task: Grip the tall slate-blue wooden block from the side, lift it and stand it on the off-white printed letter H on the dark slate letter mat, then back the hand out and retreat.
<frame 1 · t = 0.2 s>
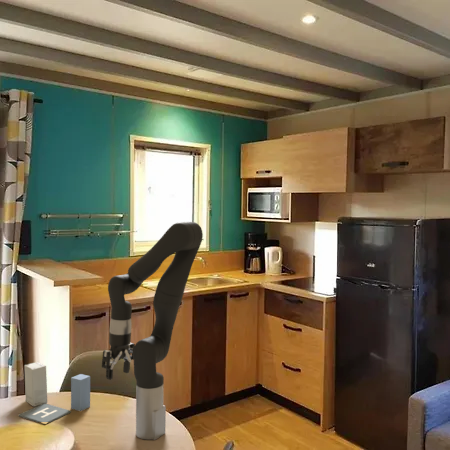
hand: (117, 375, 169), 18 cm above the table, tool pointing down, fingers open, 8 cm apart
blue block: (80, 407, 183), on the table
skincare box: (35, 402, 188), on the table
letter mat: (45, 414, 177), on the table
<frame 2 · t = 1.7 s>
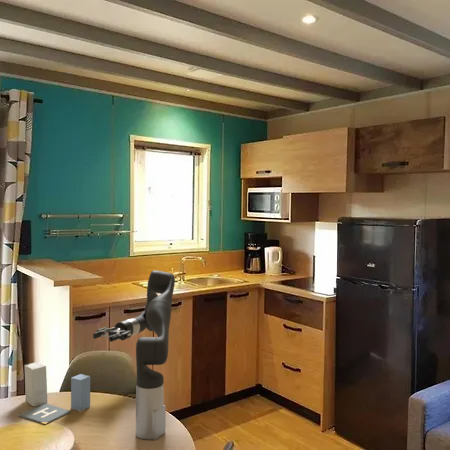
hand: (101, 337, 193), 24 cm above the table, tool horizontal, fingers open, 8 cm apart
nothing on the table moved.
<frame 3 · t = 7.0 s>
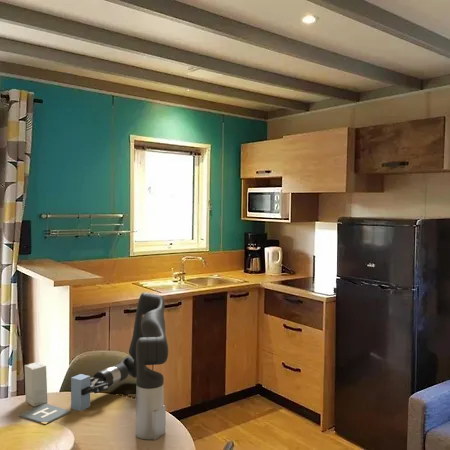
hand: (76, 391, 181), 7 cm above the table, tool horizontal, fingers closed on blue block, 5 cm apart
blue block: (80, 407, 183), on the table, touching gripper
everything else where it was.
when the fingers open (8 cm above the table, at t = 14.4 s): blue block stays where it is, resting on letter mat.
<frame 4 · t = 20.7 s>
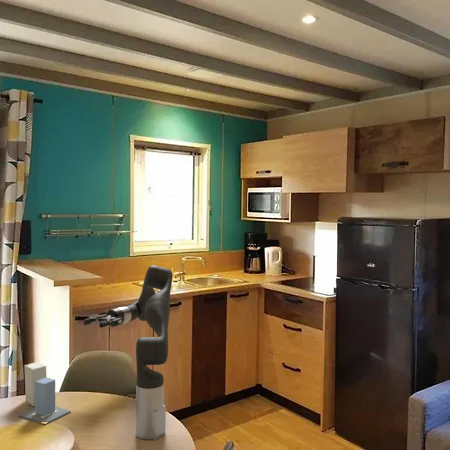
hand: (92, 323, 193), 30 cm above the table, tool horizontal, fingers open, 8 cm apart
blue block: (45, 412, 177), point 1 cm above the table, touching letter mat
everything else where it was.
at the end: blue block 0.1 cm off-centre on the letter mat, point 0.6 cm above the letter mat's base; blue block tilted 0°; the gripper is holding nothing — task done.
